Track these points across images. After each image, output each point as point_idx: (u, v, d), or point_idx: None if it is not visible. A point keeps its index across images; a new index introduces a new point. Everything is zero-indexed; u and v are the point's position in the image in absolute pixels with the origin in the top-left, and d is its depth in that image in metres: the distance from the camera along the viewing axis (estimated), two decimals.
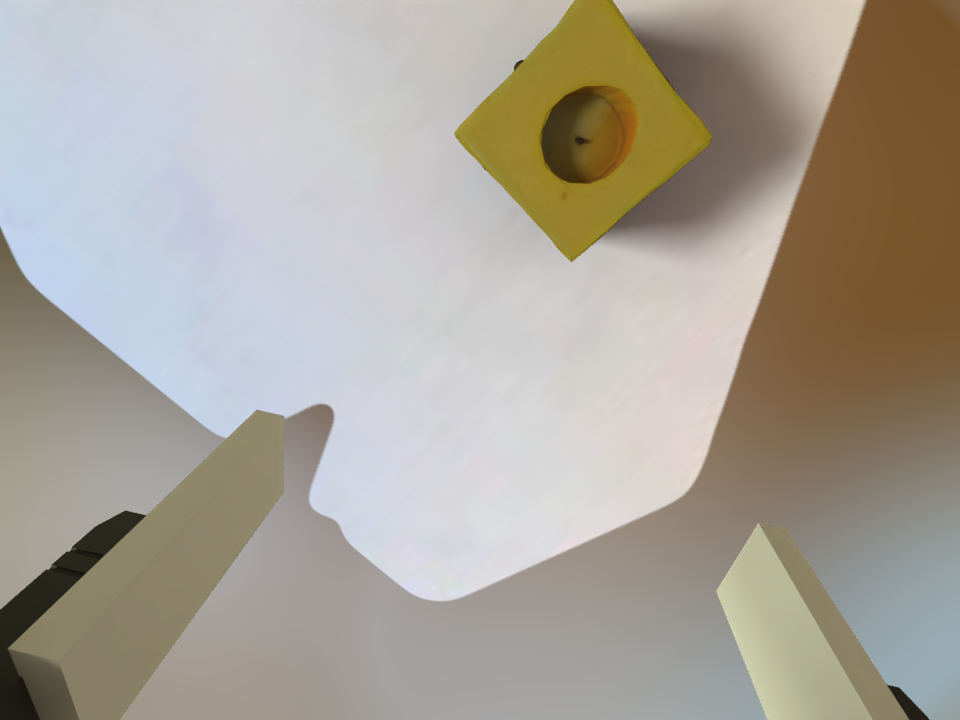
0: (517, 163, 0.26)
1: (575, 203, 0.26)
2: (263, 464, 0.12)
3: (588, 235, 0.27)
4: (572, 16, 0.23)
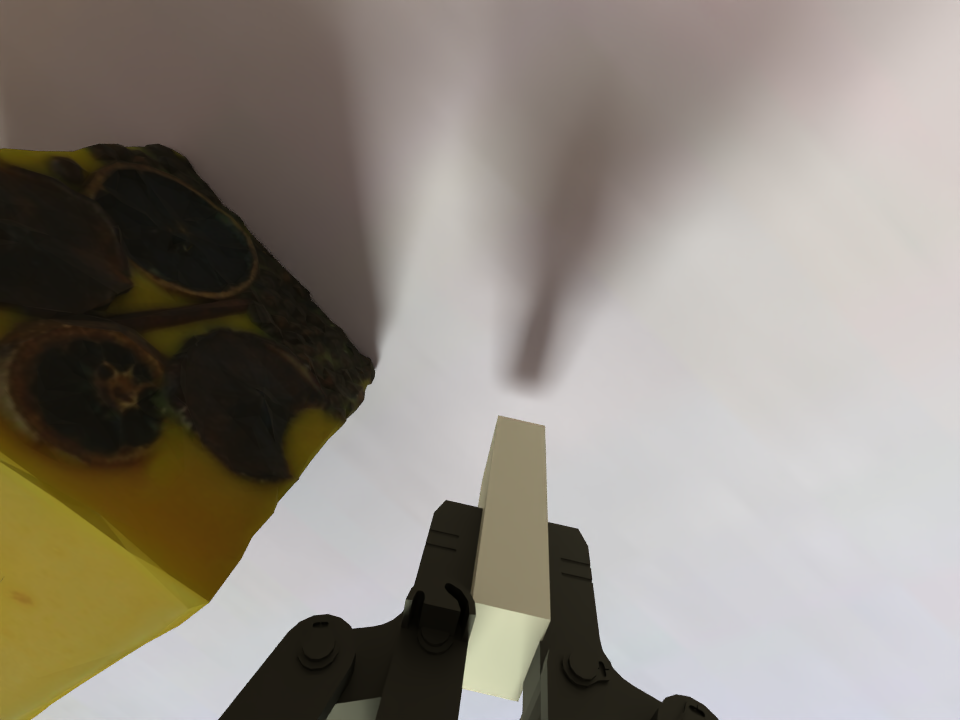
0: None
1: (29, 576, 0.08)
2: None
3: (109, 558, 0.08)
4: None
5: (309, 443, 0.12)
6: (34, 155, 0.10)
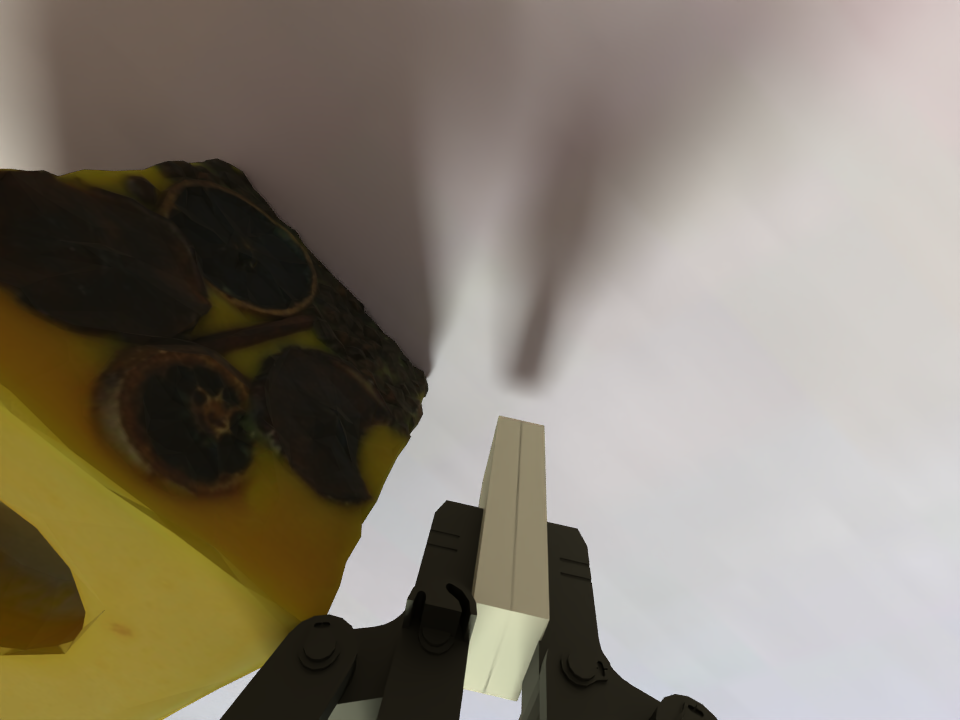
0: (75, 700, 0.10)
1: (133, 608, 0.08)
2: None
3: (219, 591, 0.08)
4: None
5: (382, 461, 0.12)
6: (111, 176, 0.10)
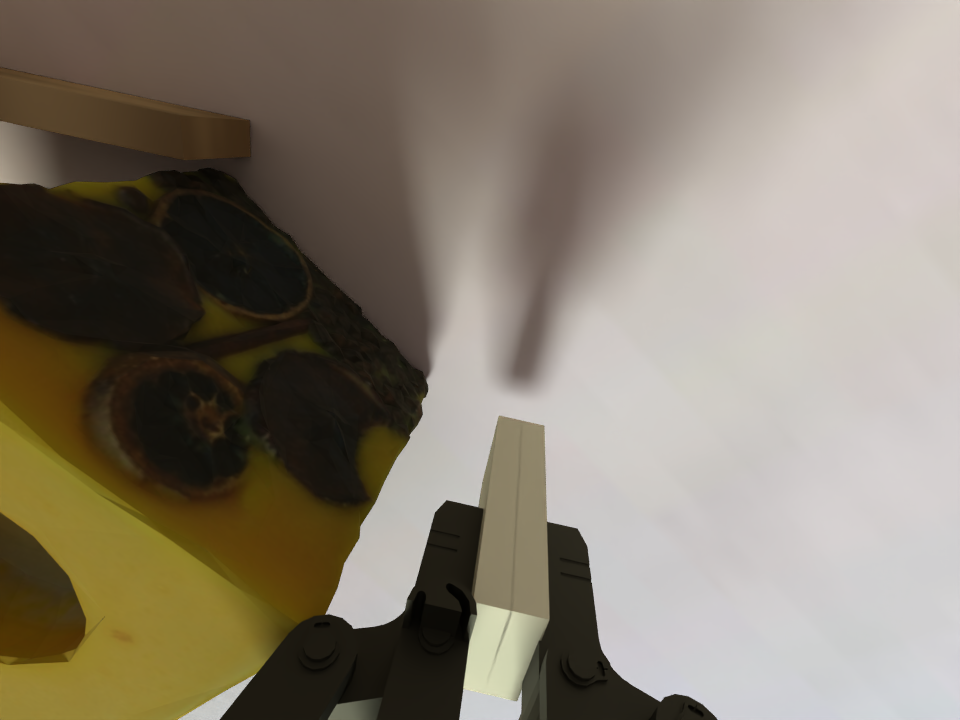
0: (81, 708, 0.10)
1: (131, 615, 0.08)
2: None
3: (216, 594, 0.08)
4: None
5: (380, 462, 0.12)
6: (102, 187, 0.10)
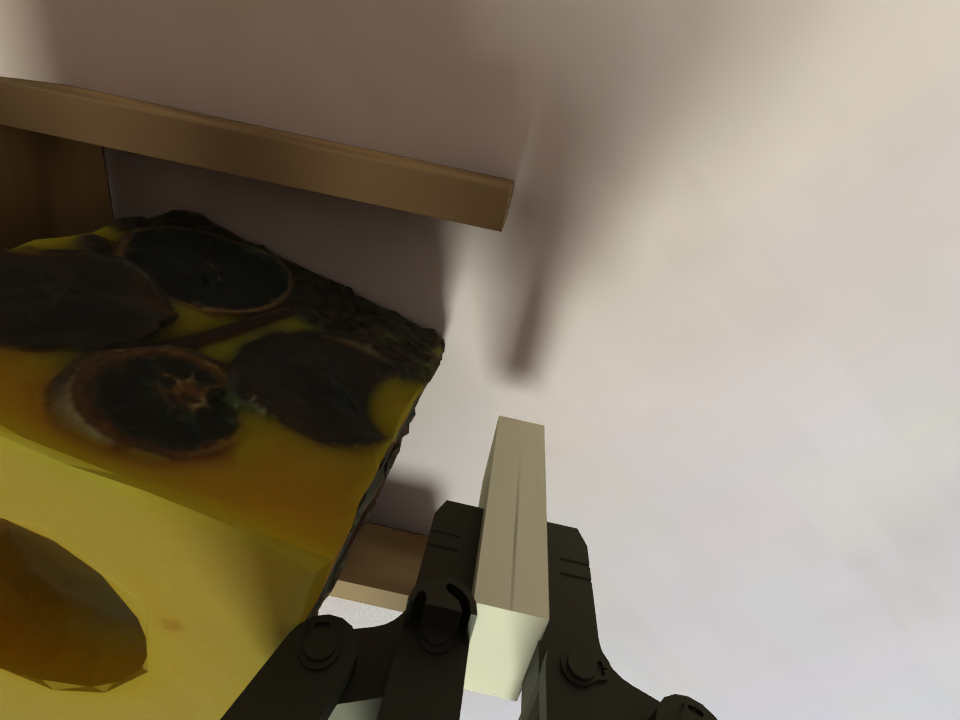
0: None
1: (166, 597, 0.08)
2: None
3: (220, 542, 0.07)
4: None
5: (395, 407, 0.11)
6: (63, 240, 0.11)
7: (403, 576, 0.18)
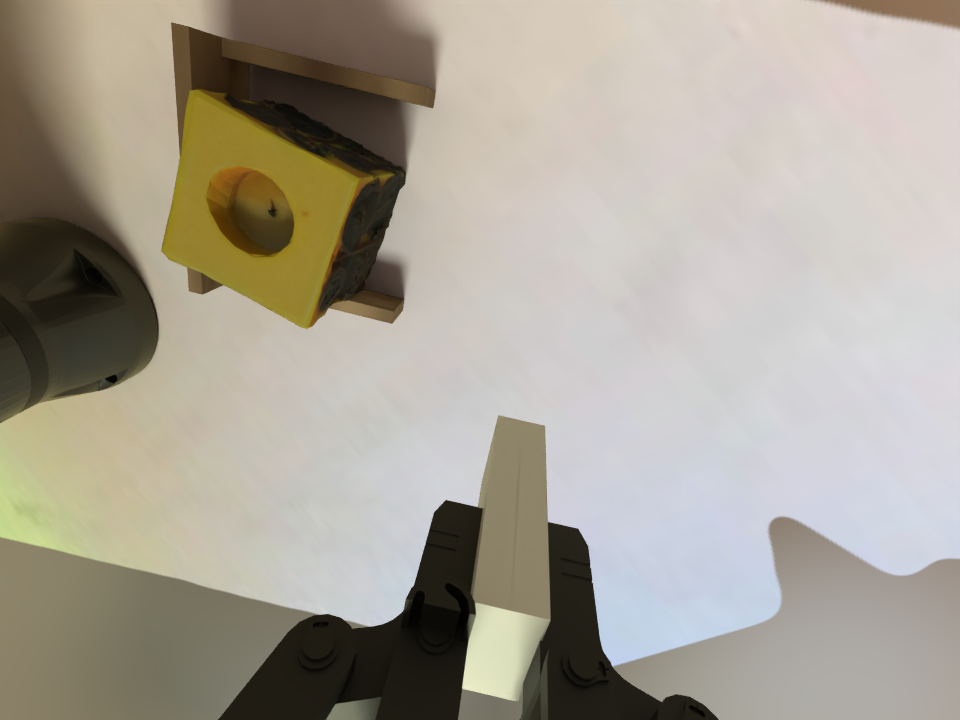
0: (300, 268, 0.27)
1: (305, 200, 0.26)
2: None
3: (325, 172, 0.25)
4: (188, 262, 0.28)
5: (380, 173, 0.29)
6: (251, 102, 0.29)
7: (383, 305, 0.36)
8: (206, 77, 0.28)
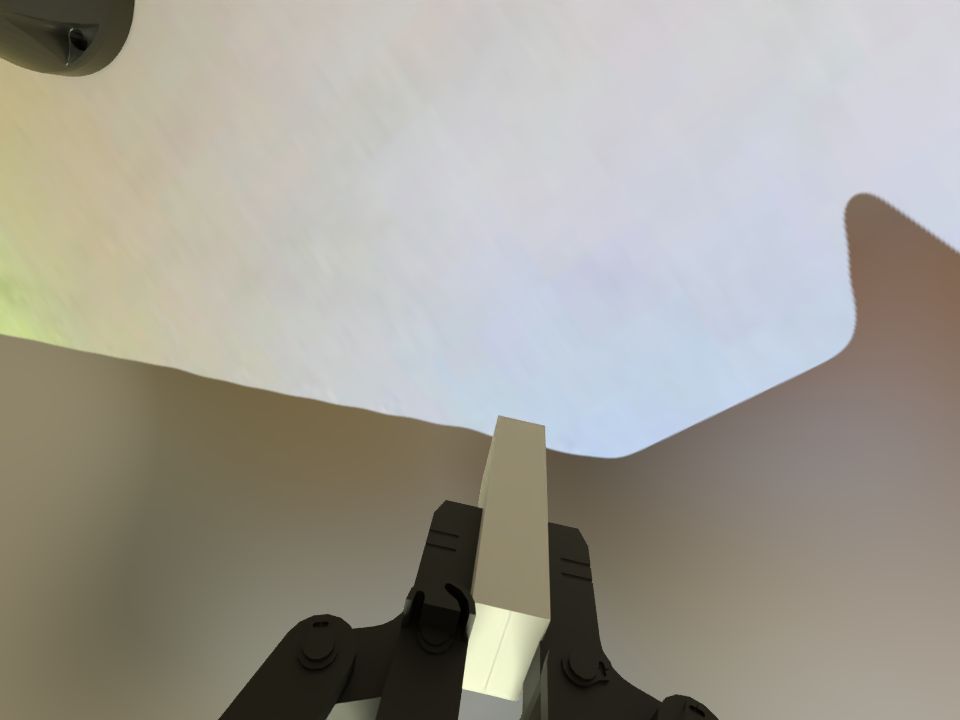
0: None
1: None
2: None
3: None
4: None
5: None
6: None
7: None
8: None
